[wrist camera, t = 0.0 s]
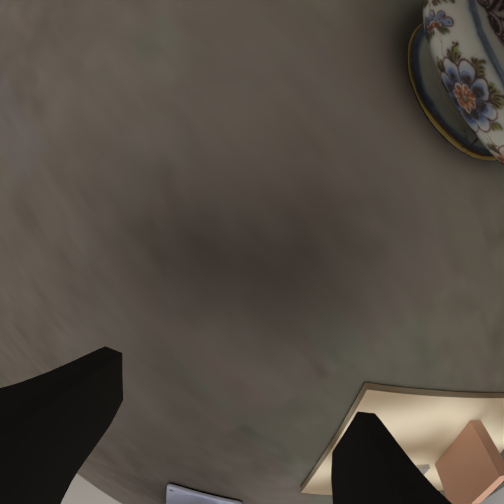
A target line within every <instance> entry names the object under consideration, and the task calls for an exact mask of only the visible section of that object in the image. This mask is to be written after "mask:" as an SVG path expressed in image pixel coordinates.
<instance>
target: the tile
mask: <svg viewBox="0 0 504 504" xmlns="http://www.w3.org/2000/svg"><path fill="white" fill-rule="evenodd" d="M435 467H436V469H437V472H438V475H439V478H440V480H441V483H442V486H443V489H444V492H445V495H446V498H447V499H448V500H449V501H450V502H451V503H452V504H479V503H480V502H481V501H483V500H484V499H485V498H486V497H487V496H488V495H489V494H490V493H491V492H492V491H493V490H494V489H495V488H497V487H498V486H499V485H500V484H501V483H502V482H503V481H504V460H503V458H502V456H501V455H500V453H499V451H498V449H497V447H496V446H495V444H494V442H493V440H492V438H491V437H490V435H489V433H488V432H487V430H486V428H485V427H484V425H483V423H482V422H481V420H470V421H469V422H468V423H467V425H466V426H465V428H464V429H463V430H462V431H461V433H460V434H459V435H458V437H457V438H456V439H455V440H454V442H453V443H452V444H451V445H450V447H449V448H448V449H447V450H446V451H445V453H444V454H443V455H442V456H441V457H440V458H439V460H438V461H437V462H436V463H435Z"/></svg>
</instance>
